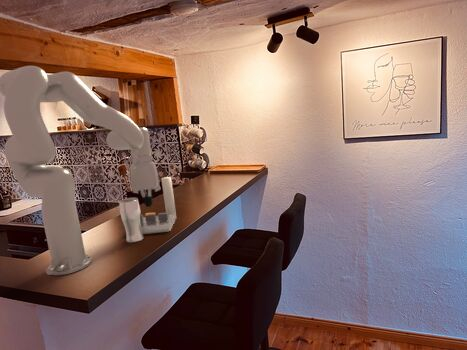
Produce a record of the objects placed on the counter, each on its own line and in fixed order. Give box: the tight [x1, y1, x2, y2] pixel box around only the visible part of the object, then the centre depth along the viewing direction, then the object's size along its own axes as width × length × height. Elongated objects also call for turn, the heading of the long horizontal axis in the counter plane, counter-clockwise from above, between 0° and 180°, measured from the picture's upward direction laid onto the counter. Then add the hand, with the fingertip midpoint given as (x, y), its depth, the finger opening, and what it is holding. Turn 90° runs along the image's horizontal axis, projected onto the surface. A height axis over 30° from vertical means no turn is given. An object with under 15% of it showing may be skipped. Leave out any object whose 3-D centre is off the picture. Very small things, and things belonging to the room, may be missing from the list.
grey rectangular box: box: [157, 211, 169, 221], centre depth 134 cm, size 2×4×2 cm, turn 90°
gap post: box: [161, 176, 177, 220], centre depth 143 cm, size 4×4×18 cm
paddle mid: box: [144, 212, 157, 222], centre depth 134 cm, size 2×4×3 cm, turn 90°
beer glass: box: [118, 197, 144, 243], centre depth 123 cm, size 7×7×15 cm
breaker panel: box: [141, 215, 176, 235], centre depth 135 cm, size 12×16×3 cm
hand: (149, 205), depth 134 cm, fingers closed
